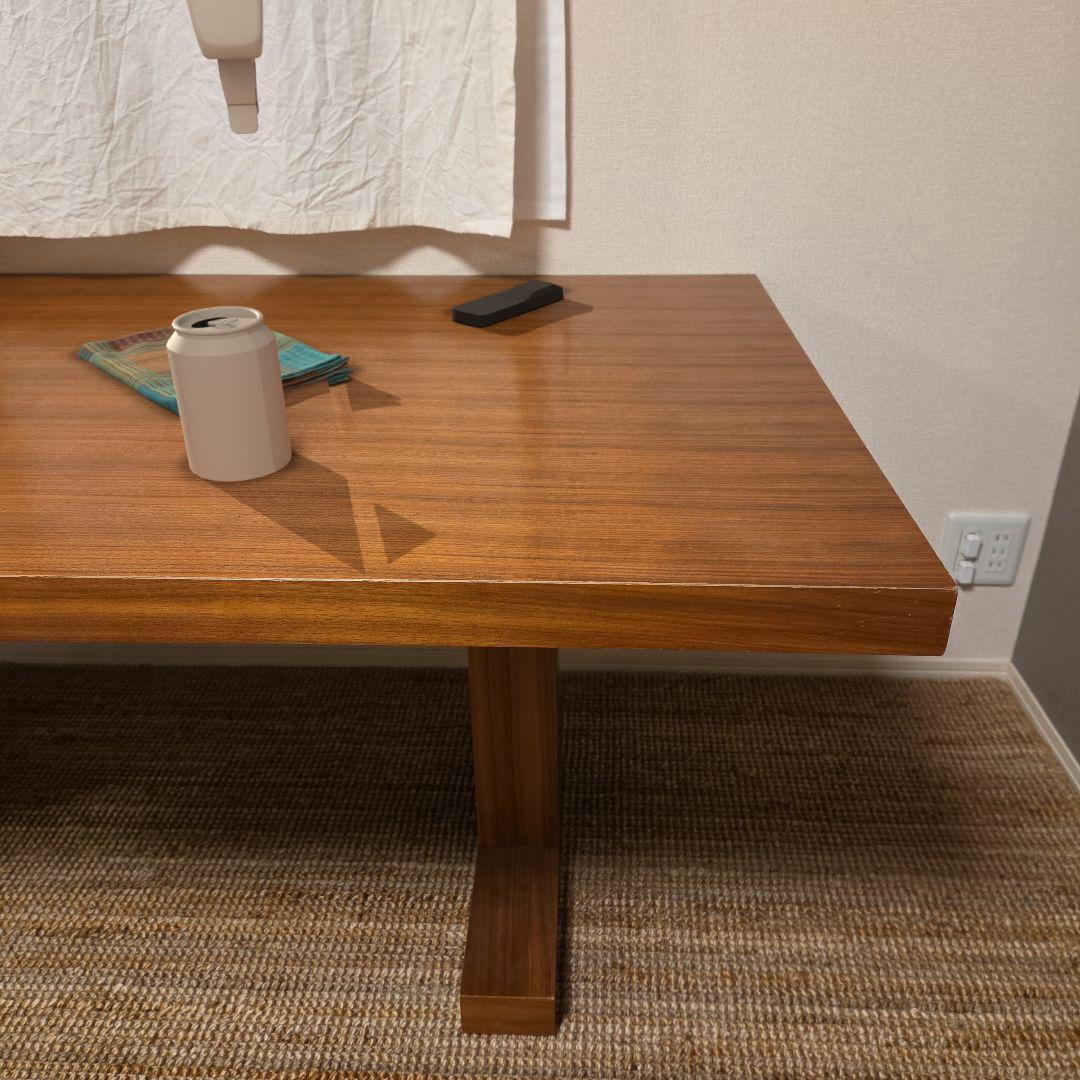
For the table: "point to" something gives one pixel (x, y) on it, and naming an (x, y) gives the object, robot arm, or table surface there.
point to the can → (229, 393)
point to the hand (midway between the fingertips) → (246, 124)
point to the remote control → (507, 303)
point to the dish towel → (149, 370)
